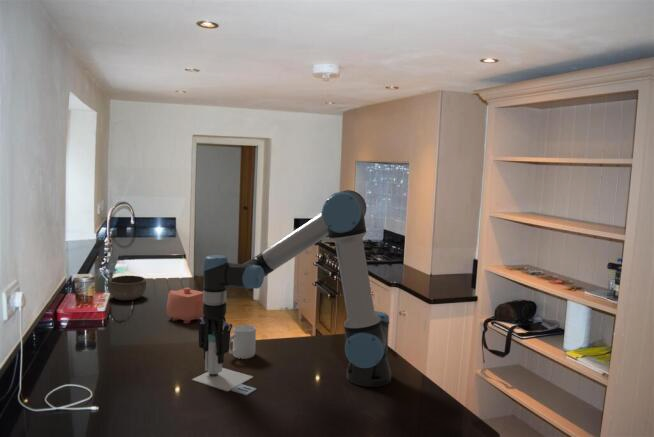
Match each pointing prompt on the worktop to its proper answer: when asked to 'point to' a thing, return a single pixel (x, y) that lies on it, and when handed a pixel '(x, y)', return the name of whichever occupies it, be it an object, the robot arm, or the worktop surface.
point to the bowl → (127, 287)
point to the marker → (211, 354)
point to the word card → (243, 389)
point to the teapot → (185, 305)
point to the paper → (223, 379)
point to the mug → (243, 341)
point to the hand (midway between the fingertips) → (213, 370)
